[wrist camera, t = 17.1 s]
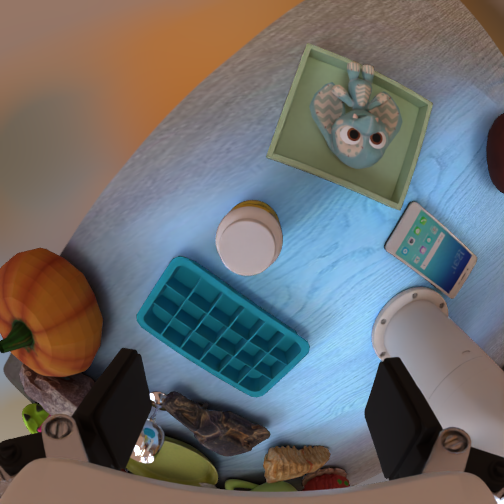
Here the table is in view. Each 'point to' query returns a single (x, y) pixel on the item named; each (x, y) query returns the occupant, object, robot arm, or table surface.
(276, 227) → the pill bottle
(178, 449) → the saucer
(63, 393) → the rock
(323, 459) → the fossil
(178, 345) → the ice cube tray
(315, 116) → the stuffed animal
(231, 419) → the dark mineral chunk
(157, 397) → the wineglass
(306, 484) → the cake
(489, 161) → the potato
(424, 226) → the smartphone
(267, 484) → the teapot
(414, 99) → the tray
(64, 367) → the pumpkin
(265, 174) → the table surface
